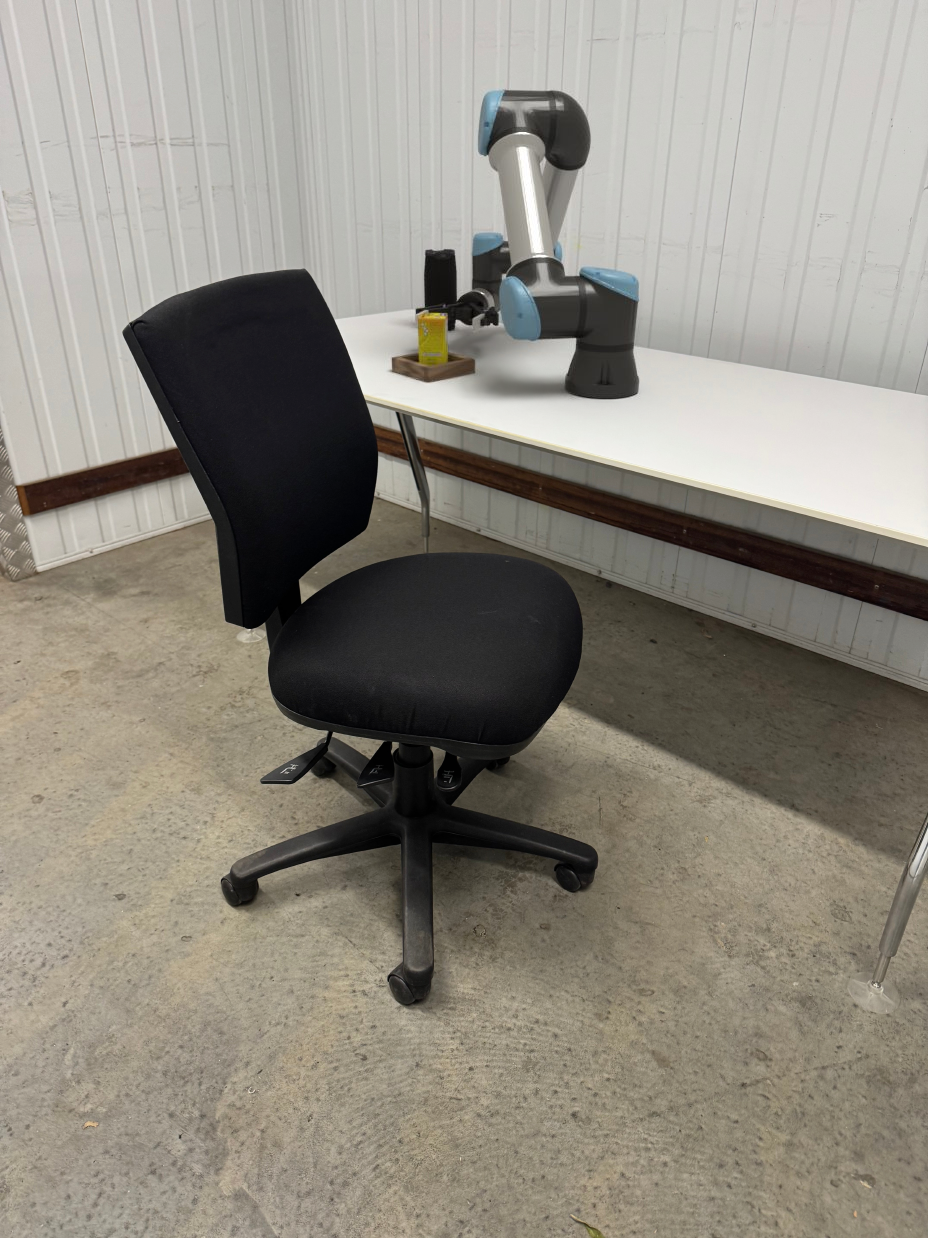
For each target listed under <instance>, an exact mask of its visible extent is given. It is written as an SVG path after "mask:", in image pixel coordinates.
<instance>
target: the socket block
mask: <svg viewBox="0 0 928 1238" xmlns="http://www.w3.org/2000/svg"><path fill="white" fill-rule="evenodd" d="M391 371H392V372H393V373H397V374H399V375H402V376H406V377H409V378H412V379H416V380H418V381H419V380H420V381H423V382H426V383H434V382H438V381H443V380H448V379H453V378H457V377H462V376H467V375H472V374H475V373H476V358H473V357H468V356H465V355H460V354H457V353H453V352H449V351H448V362H447V363H442V364H437V365H432V366H429V365H425V364H422V363H419V352H414V353H409V354H404V355H399V356H393V357H391Z"/></svg>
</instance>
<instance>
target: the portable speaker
mask: <svg viewBox="0 0 928 1238" xmlns="http://www.w3.org/2000/svg"><path fill="white" fill-rule="evenodd" d="M424 252H425V253H424V255H425V256H424V269H423V294H424V307H429V306H435V305H439V304H442V303H444V304H446V306H447V305H451V304H456V303H457V301H458V277H457V275H458V271H457V259H456V258H457V257H456V250H455V249H452V248H449V249H448V248H444V249H442V250H440V249H439V250H433V249H425V251H424ZM452 317H454V316H452ZM456 323H457V320H452V321H450V320H448V332H450V331H451V332H452V331H454V330H455V329H456Z"/></svg>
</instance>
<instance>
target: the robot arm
mask: <svg viewBox="0 0 928 1238" xmlns="http://www.w3.org/2000/svg"><path fill="white" fill-rule="evenodd" d="M479 114H480V115H479V120H478V121H479V123H478V131H477V132H478V133H477V151H478V154H479V155H481V156H484V157H487V156H488V162H489V165H490V167H491V168H492V169H493V170H494V171H495V172H496V173H497V175H498V180H499V187H500V193H501V194H500V195H501V201H502V207H503V215H504V220H505V229H506V237H507V240H504V235H503V234H502V233H500V232H478V233H475V234H474V235H473V238H472V248H471V249H472V250H471V251H472V252H471V261H472V262H471V264H472V267H471V268H472V269H471V273H472V274H471V275H472V279H471V290H470V291H468V292H466V293H463V294H462V295H460V297H459V298H457V303H456V304H451V305H447V306H446V304H444V303H442V304H439V305H435V306H429V307H425V306H423V307H419V308H418V307H417V308H415V309H414V310H415V314H414V324H415V327H414V328H417V329H418V317H419V316H420V314H421V313H447V314H448V320H450V321H452V320H456V321H458V322H459V321H460V322H461V323H462V324H464V325H465V326H470V327H472V329H471V330H472V332H477V331H479V330H481V329H482V328H484V327H489V326H491V324H492V325H493V326H495V327H498V326H499V324H500V323H499V322H500V321H499V320H500V318H499V317H500V316H499V315H501V320H502V323H503V326H504V328H505V331H506V332H507V334H508V335H509V337H511V338H513V340H518V341H521V340H523V341H530V342H535V341H537V340H538V341H540V340H541V341H542V340H564V339H565V340H567V339H568V340H569V339H575V350H574V353H573V356H572V357H571V361H570V363H569V366H568V371H567V373H566V375H565V377H564V390H566V391H567V392H568V393H571V394H573V395H576V396H581V397H585V398H586V397H587V398H593V399H619V398H625V397H630V396H633V395H636V394H637V393H638V392H639V388H640V378H639V375H638V369H637V364H636V359H635V354H634V349H635V348H634V347H635V337H636V329H637V326H636V325H637V317H638V307H639V303H640V299H639V297H640V296H639V292H640V291H639V288H640V287H639V286H640V282H639V279H638V277H636V276H635V275H634V274H632V273H630V272H626V271H622V270H616V269H612V268H611V269H610V268H607V267H605V268H604V267H596V266H583V267H581V268H580V270H579V271H578V274H579V275H566V273H565V266H564V263H563V262H562V260H563V249H562V244H561V242H559V241H558V240H559V237H560V233H561V230H562V228H563V227H562V226H563V224H564V220H565V217H566V214H567V210H568V206H569V204H570V200H571V198H572V197H571V196H572V194H573V190H574V187H575V184H576V181H577V177H578V173H579V171H580V169H582V168H584V166H585V165H586V162H587V160H588V157H589V154H590V151H591V143H592V141H591V139H592V134H591V128H590V123H589V119H588V117H587V115H586V113H585V111H584V109H583V107H582V106H581V105H580V103H579V102H578V101H577V100H576V99H575V98H573V97H572V96H571V95H569V94H568V93H566V92H564V91H561V90H552V89H551V90H518V89H516V90H515V89H513V90H512V89H506V88H505V89H502V90H499V89H498V90H490V91H488V92H486V93H485V94H484V96H483V98H482V102H481V107H480V113H479ZM544 159H545V163H544V166H543V171H542V168H541V162H542V161H543V160H544ZM503 275H505V278H503ZM499 312H500V314H499ZM452 316H454V317H452Z"/></svg>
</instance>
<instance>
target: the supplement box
mask: <svg viewBox="0 0 928 1238" xmlns="http://www.w3.org/2000/svg"><path fill="white" fill-rule="evenodd" d="M417 333H418V334H417V336H418V337H417V338H418V339H417V340H418V353H419V363H422V364H425V365H429V366H432V365H437V364H442V363H447V362H448V352H449V346H448V345H449V343H448V342H449V340H448V339H449V338H448V337H449V336H448V335H449V334H448V333H449V331H448V314H447V313H421V314H420V316H419V317H418V328H417Z"/></svg>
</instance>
